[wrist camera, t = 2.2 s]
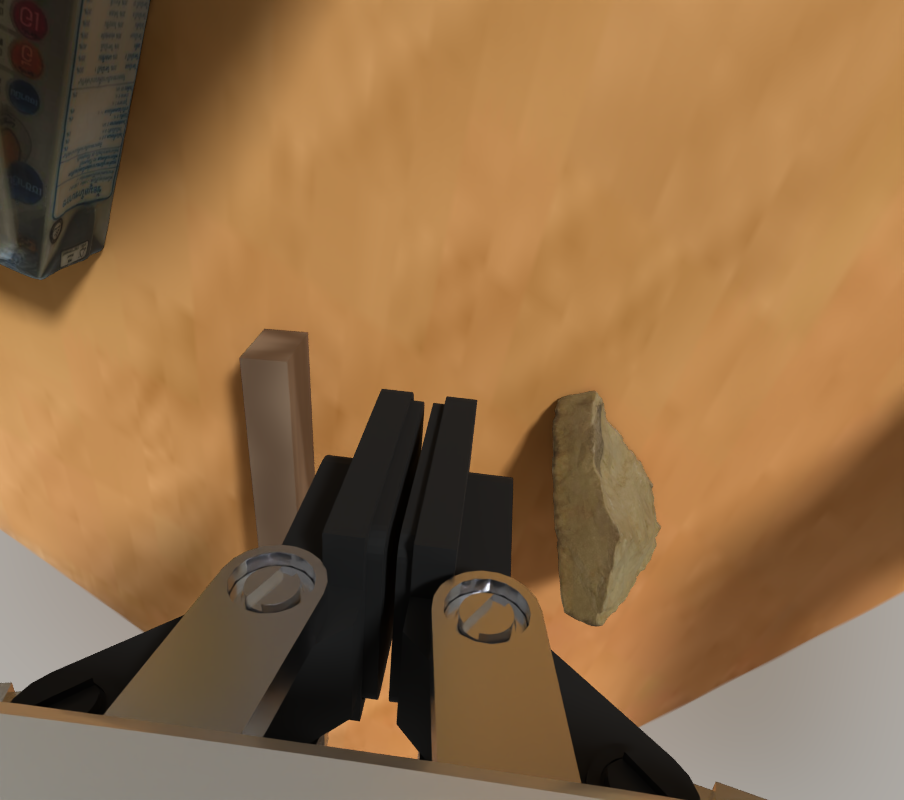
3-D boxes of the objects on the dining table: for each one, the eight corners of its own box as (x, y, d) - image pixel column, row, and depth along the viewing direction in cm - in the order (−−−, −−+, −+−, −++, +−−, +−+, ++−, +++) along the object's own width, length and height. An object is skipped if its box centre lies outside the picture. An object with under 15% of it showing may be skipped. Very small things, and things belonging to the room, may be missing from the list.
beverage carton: (-36, 191, 37) (-139, 220, 31) (1, -245, 28) (-134, -321, 22) (108, 253, 38) (34, 292, 32) (187, -150, 29) (105, -198, 23)
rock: (511, 389, 37) (484, 548, 40) (629, 456, 30) (586, 638, 34) (645, 375, 43) (612, 513, 46) (768, 427, 36) (719, 584, 40)
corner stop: (483, 347, 38) (480, 378, 35) (465, 565, 46) (461, 609, 42) (264, 328, 39) (239, 357, 35) (282, 548, 46) (262, 589, 43)
